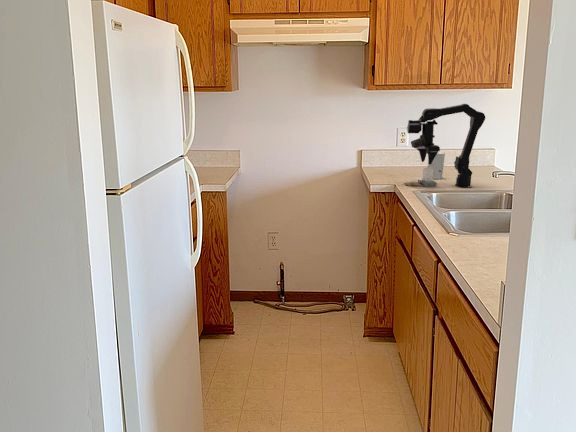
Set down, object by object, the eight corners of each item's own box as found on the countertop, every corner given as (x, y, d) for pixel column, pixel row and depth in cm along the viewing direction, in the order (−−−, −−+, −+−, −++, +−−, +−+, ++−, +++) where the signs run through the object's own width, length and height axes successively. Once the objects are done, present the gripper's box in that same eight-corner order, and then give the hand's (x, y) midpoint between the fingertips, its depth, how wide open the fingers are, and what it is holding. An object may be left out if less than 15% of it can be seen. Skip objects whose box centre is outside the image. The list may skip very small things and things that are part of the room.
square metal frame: (430, 183, 305) (430, 179, 304) (436, 186, 297) (436, 182, 296) (417, 183, 304) (418, 179, 303) (423, 186, 296) (423, 182, 295)
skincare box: (426, 178, 319) (428, 152, 315) (428, 176, 324) (430, 151, 320) (441, 179, 315) (443, 153, 312) (443, 178, 321) (445, 152, 317)
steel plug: (429, 184, 302) (430, 167, 300) (432, 185, 299) (433, 168, 296) (422, 184, 302) (423, 167, 300) (424, 185, 298) (426, 168, 296)
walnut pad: (416, 183, 303) (416, 182, 303) (421, 186, 296) (421, 184, 296) (404, 183, 302) (404, 182, 302) (408, 186, 295) (408, 185, 295)
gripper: (406, 132, 299) (405, 161, 303) (420, 135, 282) (418, 166, 285) (425, 131, 301) (424, 160, 305) (440, 134, 283) (439, 165, 287)
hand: (426, 163), depth 296 cm, fingers open, 9 cm apart
